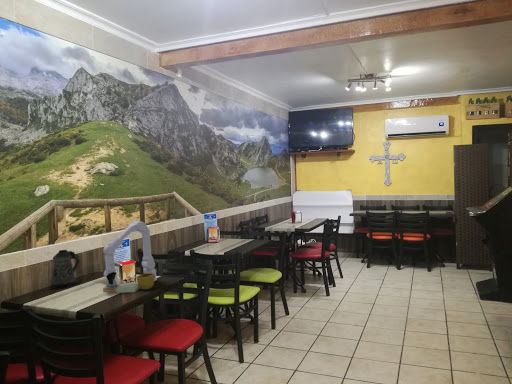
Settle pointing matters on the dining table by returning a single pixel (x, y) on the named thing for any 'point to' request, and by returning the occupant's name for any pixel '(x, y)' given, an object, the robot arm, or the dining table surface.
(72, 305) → the dining table surface
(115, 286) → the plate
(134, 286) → the grey-green flat piece
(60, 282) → the beer stein
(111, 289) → the stand
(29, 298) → the dining table surface
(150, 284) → the flower pot
